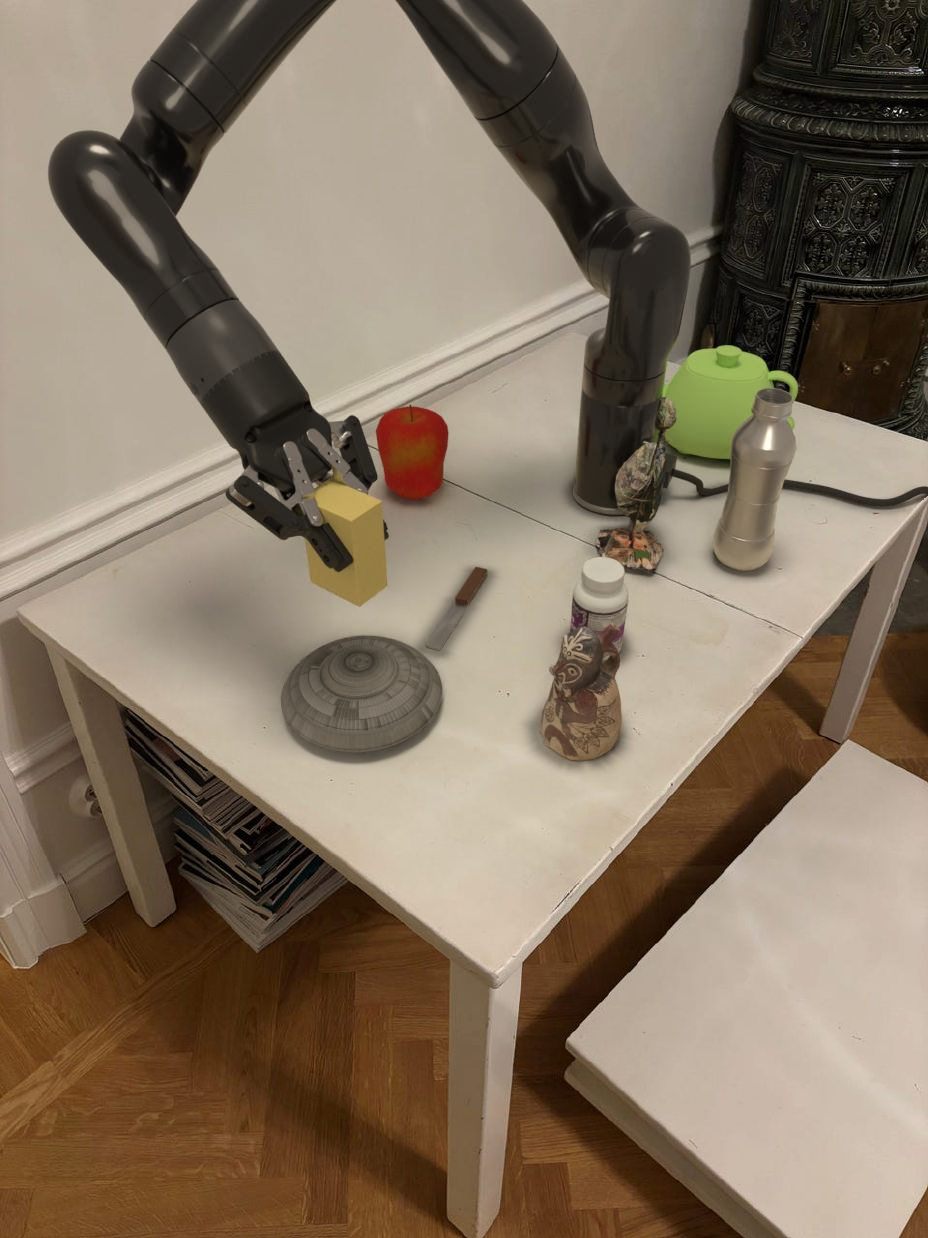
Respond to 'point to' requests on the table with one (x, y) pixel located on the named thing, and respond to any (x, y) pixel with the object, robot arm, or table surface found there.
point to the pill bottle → (600, 598)
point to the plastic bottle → (756, 482)
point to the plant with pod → (640, 499)
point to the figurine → (584, 696)
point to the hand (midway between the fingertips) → (363, 553)
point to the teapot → (717, 398)
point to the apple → (412, 450)
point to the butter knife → (457, 609)
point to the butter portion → (351, 543)
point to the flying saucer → (361, 694)
